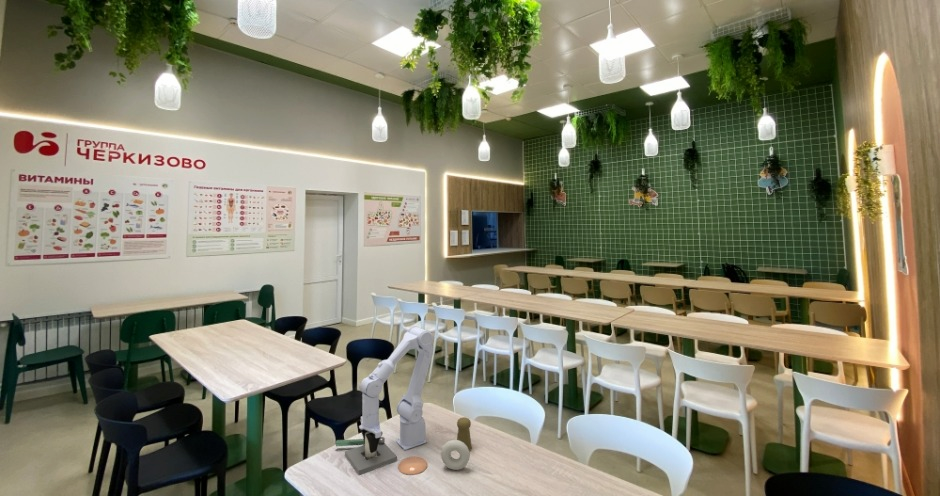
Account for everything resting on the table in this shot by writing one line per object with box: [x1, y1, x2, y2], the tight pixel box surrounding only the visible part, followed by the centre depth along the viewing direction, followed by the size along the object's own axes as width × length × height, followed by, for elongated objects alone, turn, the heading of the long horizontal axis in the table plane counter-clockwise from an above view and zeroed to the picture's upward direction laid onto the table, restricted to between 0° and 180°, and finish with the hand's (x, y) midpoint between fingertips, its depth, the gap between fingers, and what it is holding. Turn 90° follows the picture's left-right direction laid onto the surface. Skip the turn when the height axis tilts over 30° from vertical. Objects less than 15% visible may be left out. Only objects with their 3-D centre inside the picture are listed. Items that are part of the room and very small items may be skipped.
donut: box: [440, 439, 471, 471], centre depth 132 cm, size 10×4×10 cm, turn 82°
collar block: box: [344, 443, 398, 476], centre depth 138 cm, size 14×14×2 cm
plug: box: [364, 431, 378, 460], centre depth 138 cm, size 4×4×8 cm
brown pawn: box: [456, 417, 473, 452], centre depth 145 cm, size 6×6×11 cm
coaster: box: [397, 456, 428, 476], centre depth 134 cm, size 10×10×1 cm
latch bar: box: [335, 436, 386, 447], centre depth 144 cm, size 18×2×2 cm, turn 97°
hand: (370, 448), depth 138 cm, fingers closed on plug, 4 cm apart
